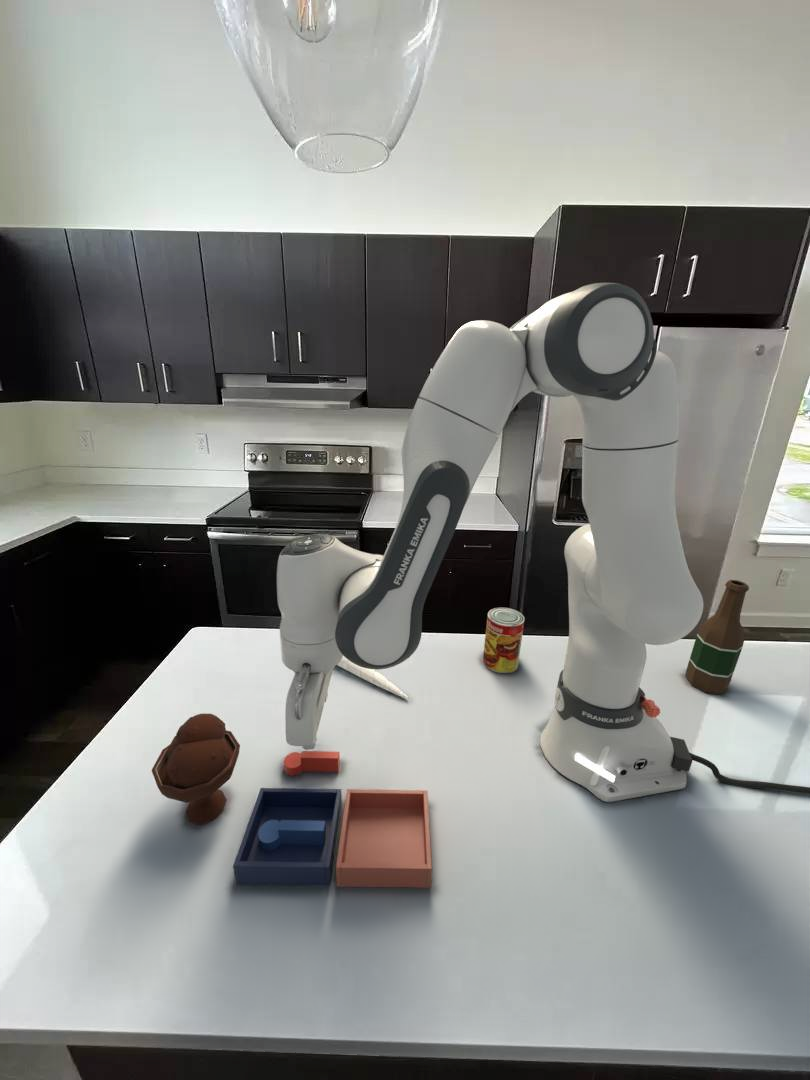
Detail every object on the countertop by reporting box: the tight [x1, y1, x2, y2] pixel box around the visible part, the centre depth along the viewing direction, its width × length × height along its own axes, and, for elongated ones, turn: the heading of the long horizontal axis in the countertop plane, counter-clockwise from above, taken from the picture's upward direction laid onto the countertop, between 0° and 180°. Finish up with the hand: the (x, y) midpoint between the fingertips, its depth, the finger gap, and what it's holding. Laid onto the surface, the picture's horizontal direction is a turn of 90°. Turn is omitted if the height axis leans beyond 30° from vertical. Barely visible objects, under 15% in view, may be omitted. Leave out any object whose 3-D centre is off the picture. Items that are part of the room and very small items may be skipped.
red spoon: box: [283, 750, 341, 777], centre depth 69 cm, size 9×3×3 cm, turn 90°
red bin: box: [335, 788, 433, 889], centre depth 57 cm, size 12×11×4 cm
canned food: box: [482, 606, 526, 674], centre depth 95 cm, size 8×8×12 cm
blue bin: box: [232, 787, 343, 887], centre depth 57 cm, size 12×11×4 cm
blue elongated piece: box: [258, 820, 326, 851], centre depth 57 cm, size 9×3×3 cm, turn 90°
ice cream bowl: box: [151, 713, 241, 826], centre depth 60 cm, size 11×11×15 cm
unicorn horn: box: [336, 656, 409, 700], centre depth 90 cm, size 5×24×5 cm, turn 49°
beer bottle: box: [684, 579, 750, 696], centre depth 87 cm, size 8×8×24 cm
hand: (316, 721), depth 66 cm, fingers open, 8 cm apart
